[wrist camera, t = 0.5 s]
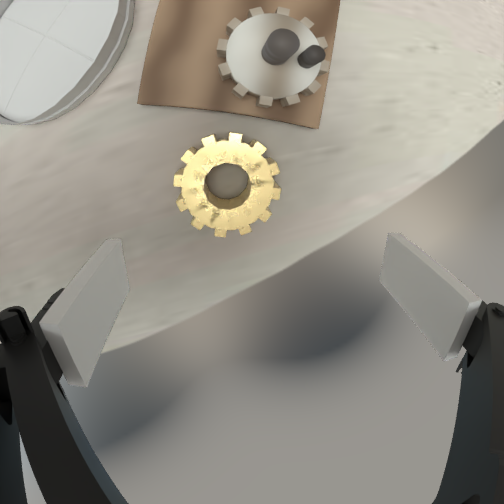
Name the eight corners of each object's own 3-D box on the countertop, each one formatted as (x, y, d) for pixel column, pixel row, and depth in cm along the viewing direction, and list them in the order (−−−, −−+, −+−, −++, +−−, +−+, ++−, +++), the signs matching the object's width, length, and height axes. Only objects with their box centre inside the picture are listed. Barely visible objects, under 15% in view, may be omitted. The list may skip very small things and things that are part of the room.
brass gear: (175, 218, 32) (169, 230, 28) (186, 126, 28) (180, 126, 24) (264, 229, 33) (270, 243, 30) (282, 140, 30) (290, 143, 26)
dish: (176, -6, 22) (169, -25, 17) (63, 155, 28) (41, 162, 23) (56, -48, 14) (41, -60, 10) (-30, 88, 21) (-52, 89, 16)
